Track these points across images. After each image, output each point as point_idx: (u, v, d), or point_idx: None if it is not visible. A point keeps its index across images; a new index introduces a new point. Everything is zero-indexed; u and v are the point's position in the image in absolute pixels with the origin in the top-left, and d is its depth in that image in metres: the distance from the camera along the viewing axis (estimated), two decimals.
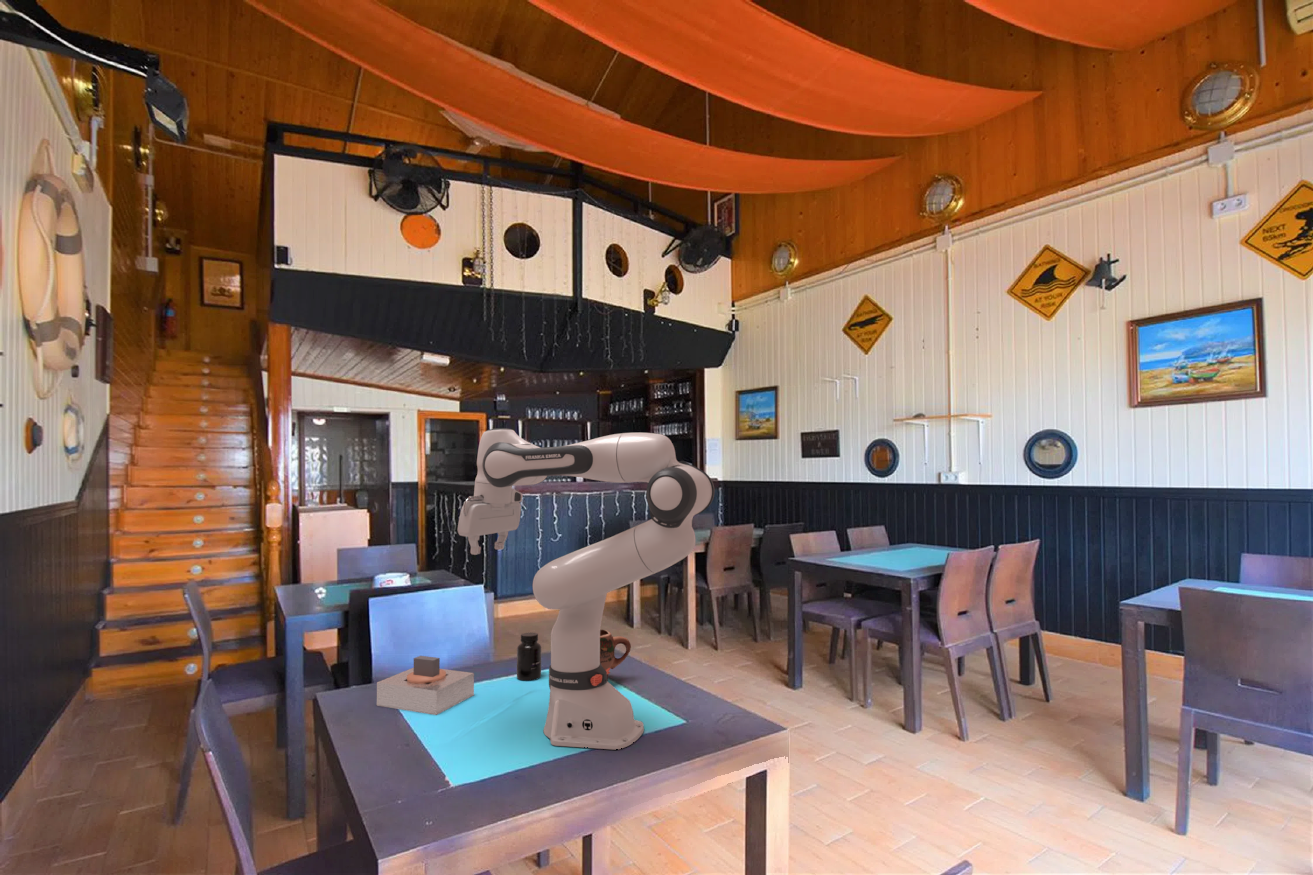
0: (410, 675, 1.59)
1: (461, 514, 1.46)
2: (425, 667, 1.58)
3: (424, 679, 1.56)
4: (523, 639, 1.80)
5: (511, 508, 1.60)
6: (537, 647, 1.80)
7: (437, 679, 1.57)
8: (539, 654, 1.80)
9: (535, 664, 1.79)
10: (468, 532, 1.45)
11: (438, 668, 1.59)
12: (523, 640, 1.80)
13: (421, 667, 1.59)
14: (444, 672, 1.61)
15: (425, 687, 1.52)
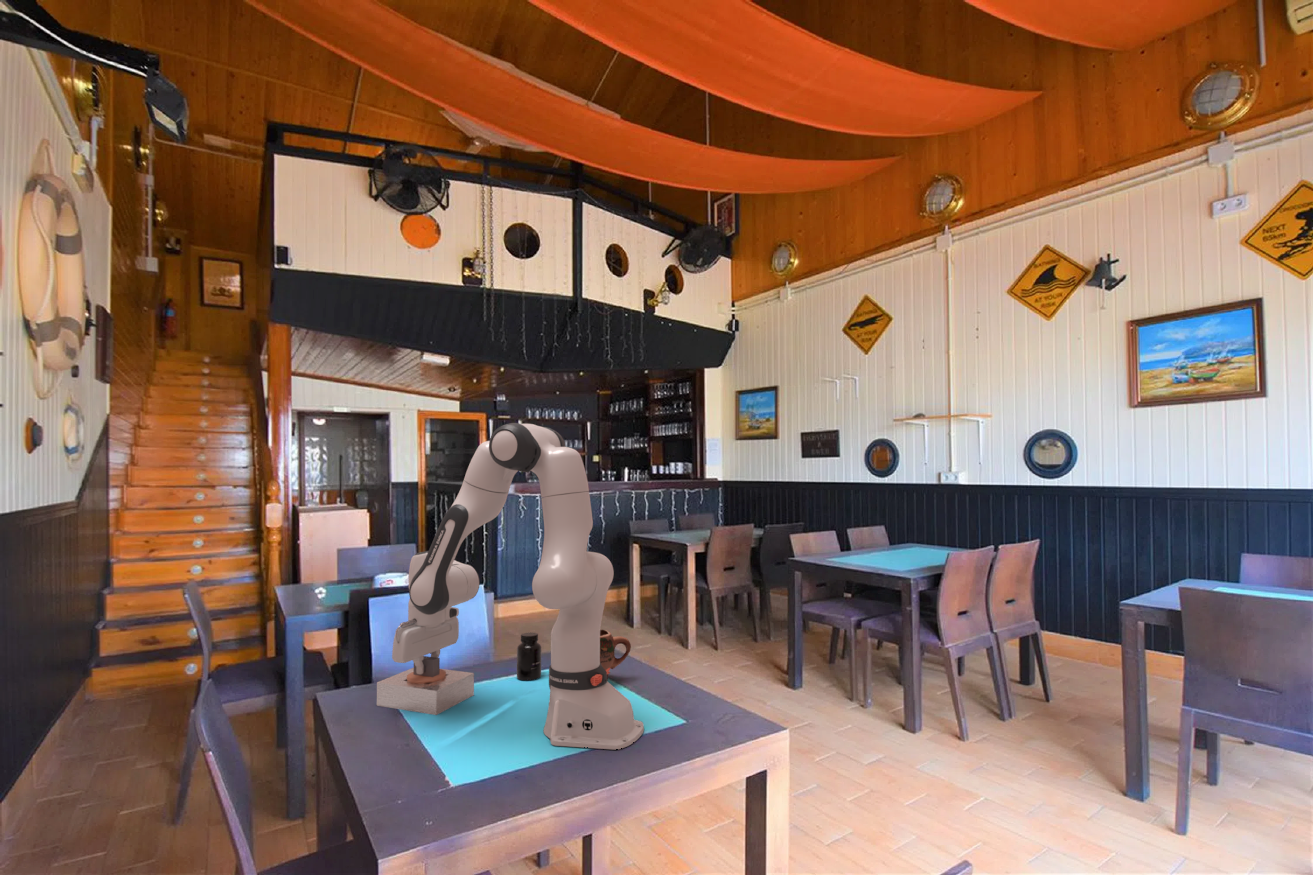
0: (410, 675, 1.59)
1: (394, 641, 1.52)
2: None
3: (424, 679, 1.56)
4: (523, 639, 1.80)
5: (448, 624, 1.65)
6: (537, 647, 1.80)
7: (437, 679, 1.57)
8: (539, 654, 1.80)
9: (535, 664, 1.79)
10: (402, 659, 1.50)
11: (438, 668, 1.59)
12: (523, 640, 1.80)
13: None
14: (444, 672, 1.61)
15: (425, 687, 1.52)
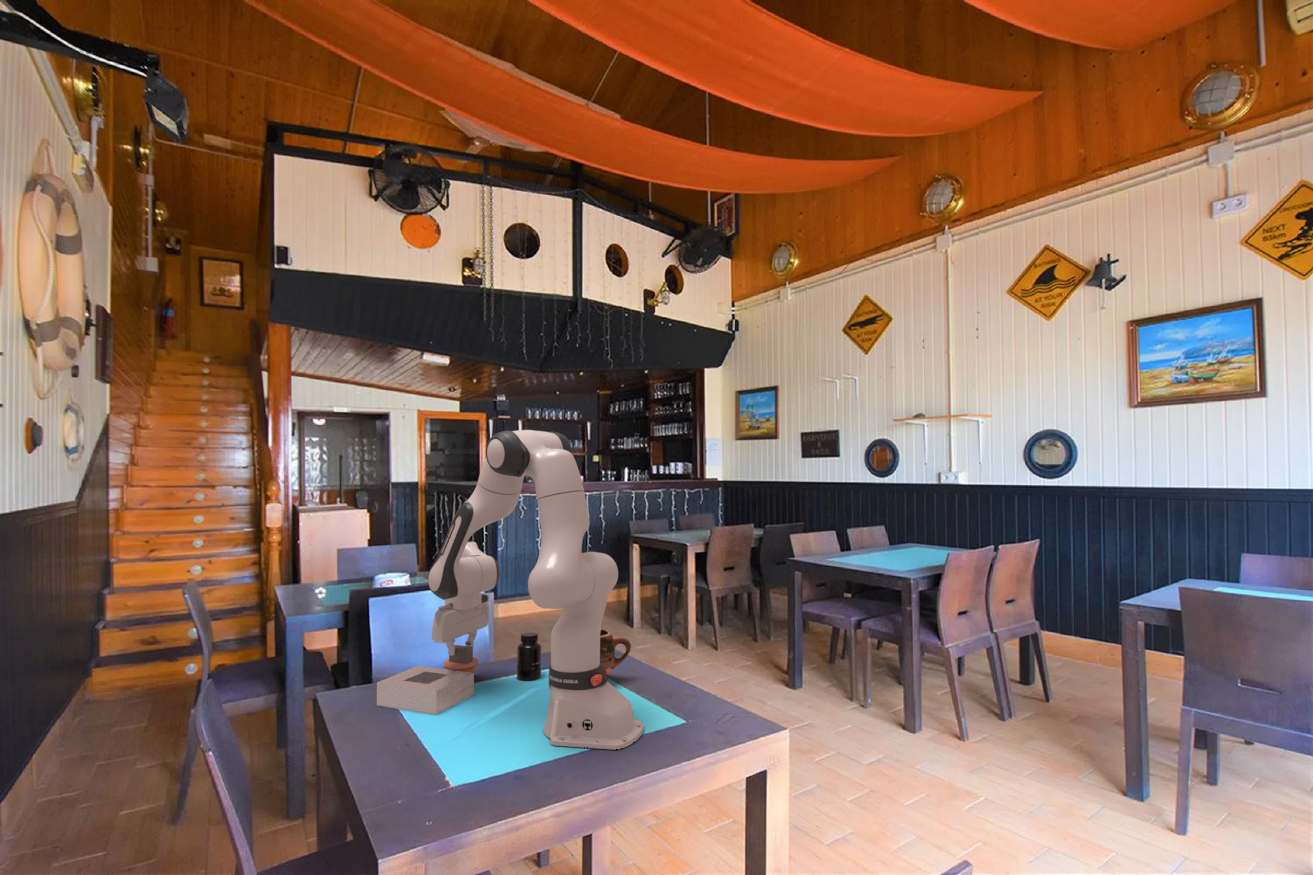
0: (446, 662, 1.74)
1: (434, 623, 1.67)
2: (460, 655, 1.74)
3: (459, 666, 1.71)
4: (523, 639, 1.80)
5: (480, 609, 1.81)
6: (537, 647, 1.80)
7: (471, 666, 1.72)
8: (539, 654, 1.80)
9: (535, 664, 1.79)
10: (441, 639, 1.66)
11: (471, 656, 1.75)
12: (523, 640, 1.80)
13: (456, 655, 1.74)
14: (477, 660, 1.76)
15: (425, 687, 1.52)
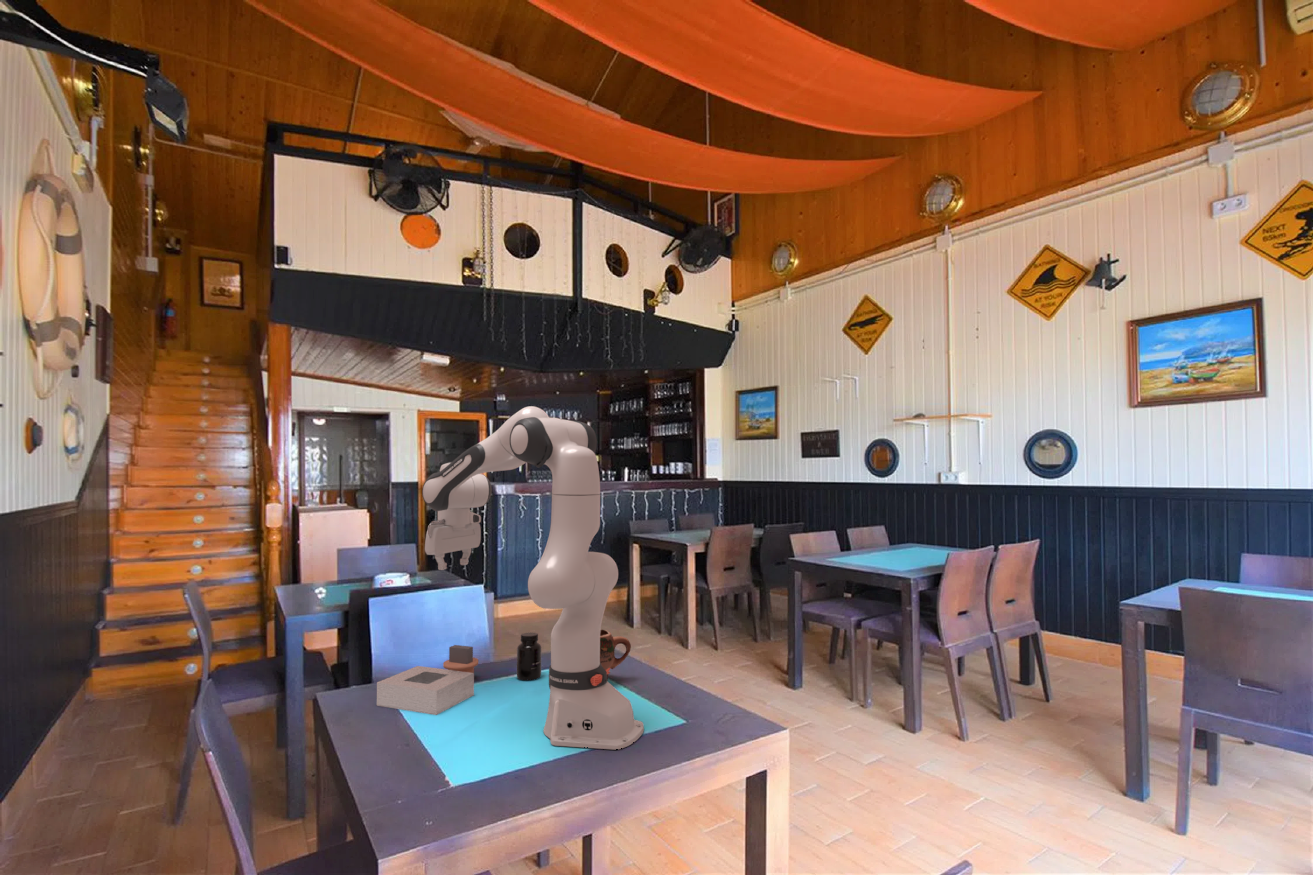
0: (446, 662, 1.74)
1: (427, 536, 1.74)
2: (460, 655, 1.74)
3: (459, 666, 1.71)
4: (523, 639, 1.80)
5: (471, 528, 1.88)
6: (537, 647, 1.80)
7: (471, 666, 1.72)
8: (539, 654, 1.80)
9: (535, 664, 1.79)
10: (434, 551, 1.73)
11: (471, 656, 1.75)
12: (523, 640, 1.80)
13: (456, 655, 1.74)
14: (477, 660, 1.76)
15: (425, 687, 1.52)
